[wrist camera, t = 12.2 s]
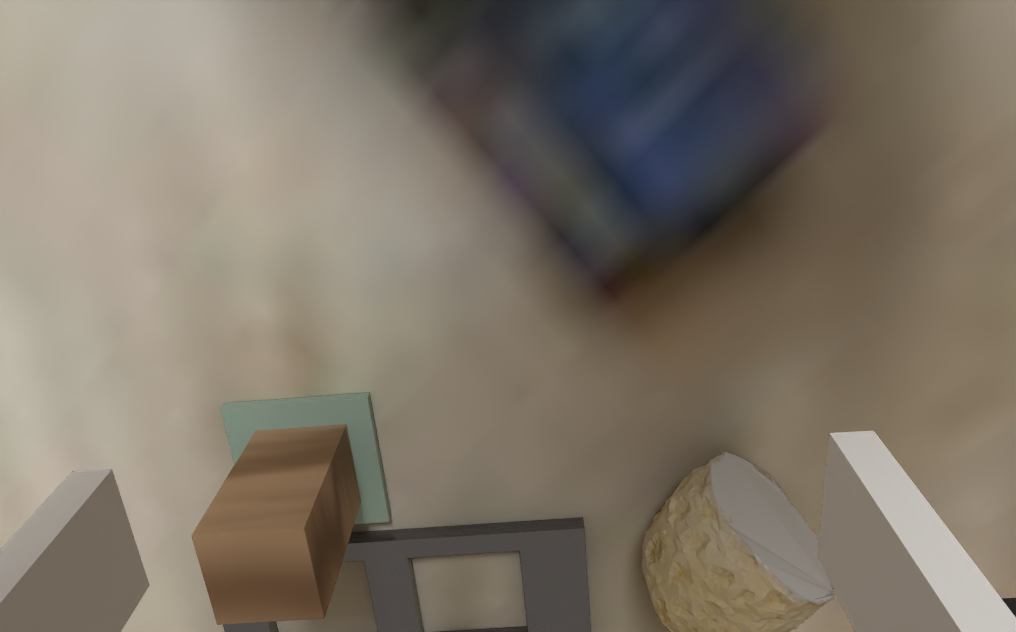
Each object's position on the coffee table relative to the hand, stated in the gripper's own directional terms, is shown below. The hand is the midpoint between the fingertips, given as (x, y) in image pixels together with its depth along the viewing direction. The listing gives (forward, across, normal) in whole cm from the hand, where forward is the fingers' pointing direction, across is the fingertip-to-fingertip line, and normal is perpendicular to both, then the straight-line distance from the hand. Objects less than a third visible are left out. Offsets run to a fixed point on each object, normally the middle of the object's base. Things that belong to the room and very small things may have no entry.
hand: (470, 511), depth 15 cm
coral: (+26, +10, -20) cm, 34 cm away
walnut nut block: (+24, -12, -15) cm, 31 cm away
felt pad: (+25, -12, -15) cm, 32 cm away
